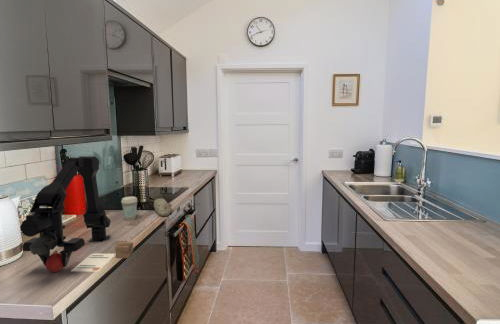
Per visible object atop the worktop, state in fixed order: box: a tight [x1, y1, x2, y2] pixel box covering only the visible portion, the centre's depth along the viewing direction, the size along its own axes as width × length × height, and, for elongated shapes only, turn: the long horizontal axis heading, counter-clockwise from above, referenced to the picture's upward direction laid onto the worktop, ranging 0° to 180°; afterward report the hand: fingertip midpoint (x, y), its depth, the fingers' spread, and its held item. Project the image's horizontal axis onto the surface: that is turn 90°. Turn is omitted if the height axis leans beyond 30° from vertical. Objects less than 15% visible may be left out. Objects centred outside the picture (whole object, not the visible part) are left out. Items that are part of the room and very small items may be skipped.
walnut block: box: [114, 241, 134, 259], centre depth 113 cm, size 5×5×5 cm
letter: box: [70, 253, 116, 273], centre depth 107 cm, size 14×10×1 cm
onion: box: [45, 250, 64, 273], centre depth 100 cm, size 6×6×8 cm
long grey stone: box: [153, 198, 173, 217], centre depth 177 cm, size 35×5×10 cm
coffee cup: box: [120, 195, 138, 221], centre depth 157 cm, size 9×8×12 cm
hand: (56, 266), depth 100 cm, fingers closed on onion, 6 cm apart
